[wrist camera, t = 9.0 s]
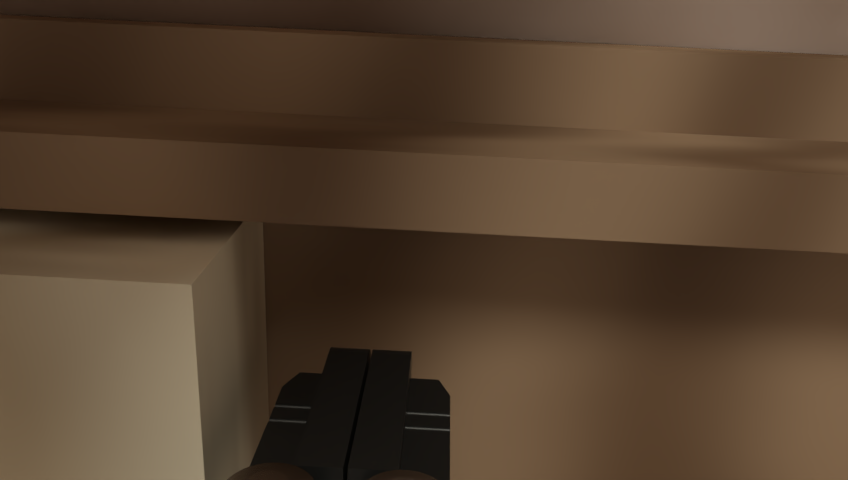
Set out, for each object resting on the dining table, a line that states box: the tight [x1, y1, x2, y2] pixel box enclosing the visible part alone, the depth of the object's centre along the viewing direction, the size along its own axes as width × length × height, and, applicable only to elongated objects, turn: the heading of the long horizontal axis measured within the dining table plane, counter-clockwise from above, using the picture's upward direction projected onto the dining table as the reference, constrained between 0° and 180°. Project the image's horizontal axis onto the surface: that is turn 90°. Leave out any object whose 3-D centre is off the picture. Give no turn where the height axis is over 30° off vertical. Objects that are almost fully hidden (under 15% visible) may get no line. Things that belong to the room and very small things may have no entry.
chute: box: [0, 15, 848, 480], centre depth 14 cm, size 28×12×3 cm, turn 87°
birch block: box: [0, 208, 269, 480], centre depth 13 cm, size 6×6×4 cm
